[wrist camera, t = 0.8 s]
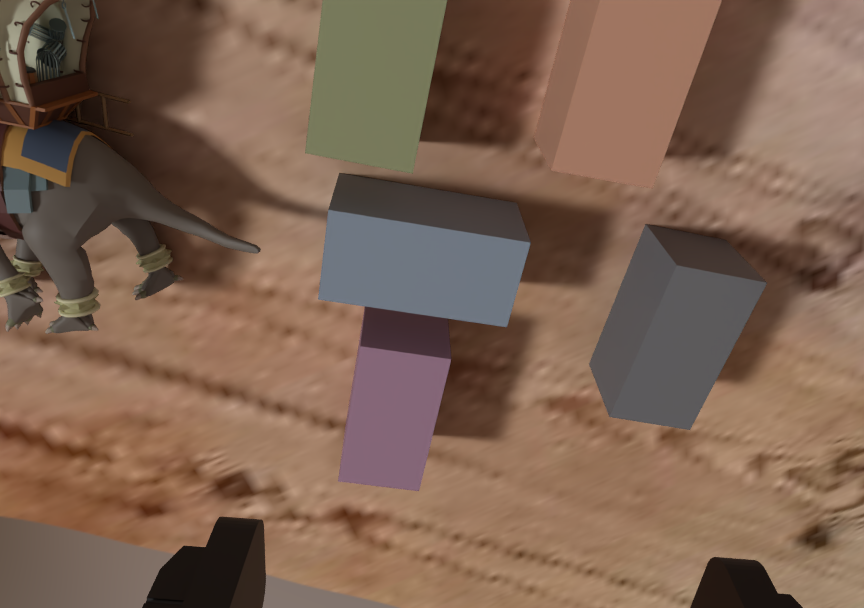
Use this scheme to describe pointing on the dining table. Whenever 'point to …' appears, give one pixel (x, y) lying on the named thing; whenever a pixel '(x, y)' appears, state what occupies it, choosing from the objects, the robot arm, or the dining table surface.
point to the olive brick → (373, 80)
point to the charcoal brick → (673, 326)
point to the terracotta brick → (621, 85)
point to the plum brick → (394, 398)
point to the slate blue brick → (422, 251)
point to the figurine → (68, 171)
